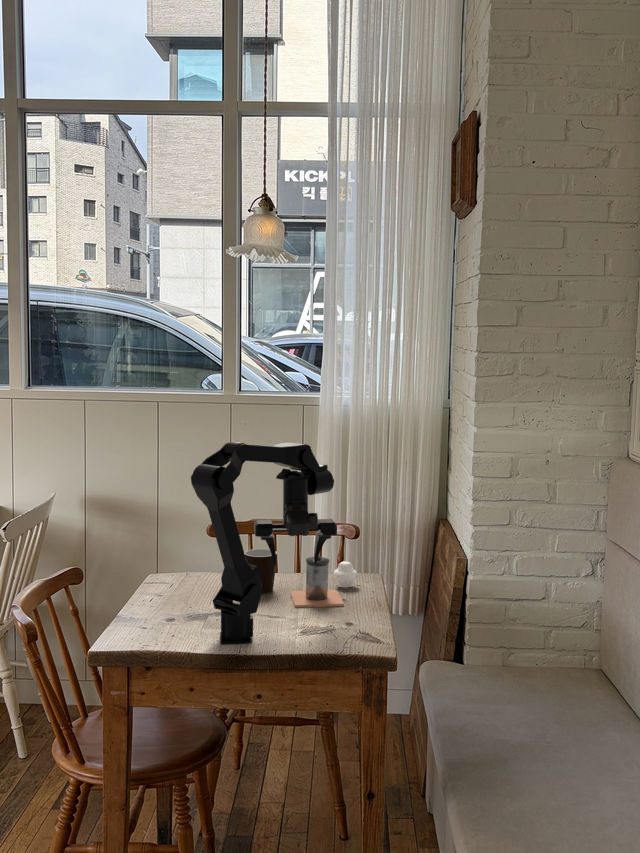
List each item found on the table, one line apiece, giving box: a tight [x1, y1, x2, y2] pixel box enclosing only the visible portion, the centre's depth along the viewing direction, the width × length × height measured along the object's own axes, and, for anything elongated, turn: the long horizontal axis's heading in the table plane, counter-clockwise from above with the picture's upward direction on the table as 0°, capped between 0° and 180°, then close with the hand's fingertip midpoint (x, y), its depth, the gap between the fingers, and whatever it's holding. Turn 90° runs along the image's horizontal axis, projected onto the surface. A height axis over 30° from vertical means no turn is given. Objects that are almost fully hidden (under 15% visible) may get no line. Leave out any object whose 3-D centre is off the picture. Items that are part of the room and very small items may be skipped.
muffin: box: [333, 560, 358, 588], centre depth 220 cm, size 6×6×7 cm
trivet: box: [290, 589, 345, 609], centre depth 209 cm, size 12×12×1 cm
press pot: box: [305, 555, 330, 601], centre depth 208 cm, size 6×6×10 cm
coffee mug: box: [244, 548, 278, 595], centre depth 217 cm, size 12×9×10 cm
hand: (295, 564), depth 192 cm, fingers open, 9 cm apart
